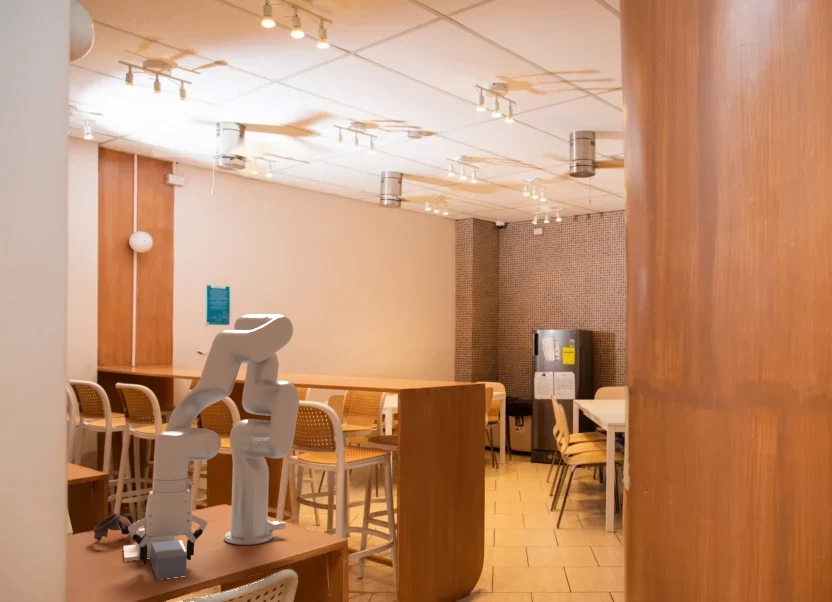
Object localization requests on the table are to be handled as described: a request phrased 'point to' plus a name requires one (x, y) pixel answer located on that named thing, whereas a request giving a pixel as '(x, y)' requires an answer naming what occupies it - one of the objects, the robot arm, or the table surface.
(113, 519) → the pottery mug
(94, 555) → the table surface
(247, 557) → the table surface
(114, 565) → the table surface
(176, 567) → the blue-grey rectangular block
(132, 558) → the display stand
